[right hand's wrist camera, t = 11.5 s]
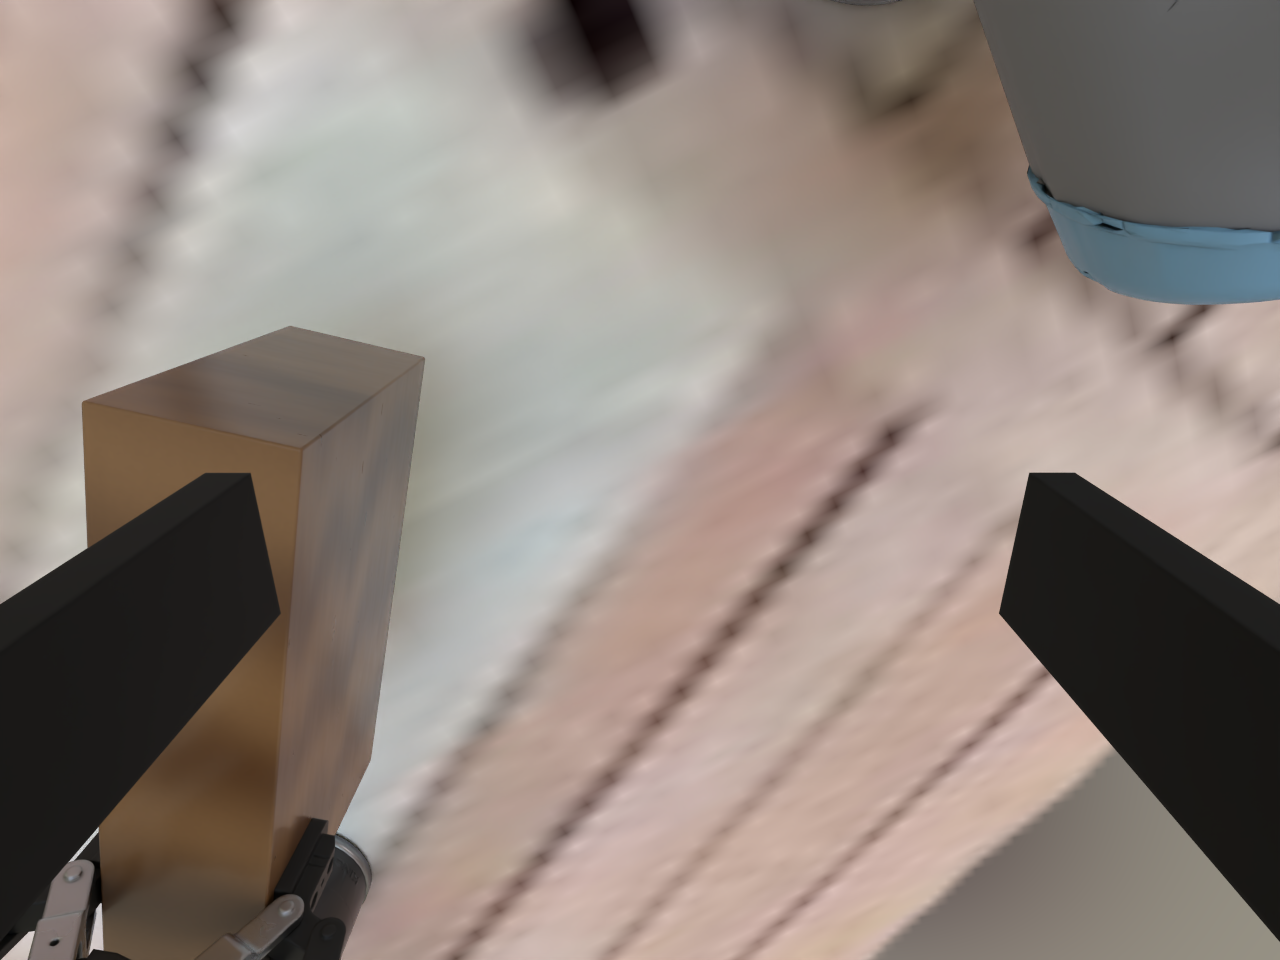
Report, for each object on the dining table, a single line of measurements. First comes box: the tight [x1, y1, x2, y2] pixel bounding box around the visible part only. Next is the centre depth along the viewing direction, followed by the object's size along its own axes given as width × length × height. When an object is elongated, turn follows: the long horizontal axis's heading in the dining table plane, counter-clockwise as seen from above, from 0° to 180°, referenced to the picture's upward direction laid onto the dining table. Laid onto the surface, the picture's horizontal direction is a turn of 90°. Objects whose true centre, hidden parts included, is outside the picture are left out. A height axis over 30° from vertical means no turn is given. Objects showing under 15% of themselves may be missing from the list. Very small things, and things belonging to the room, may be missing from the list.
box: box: [82, 326, 425, 960], centre depth 30 cm, size 24×6×13 cm, turn 166°
